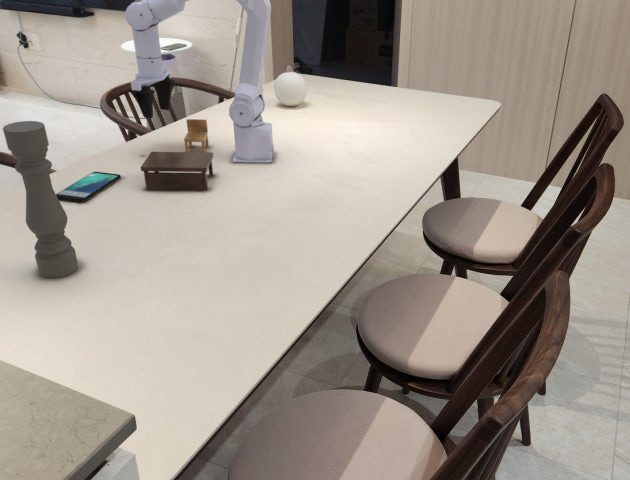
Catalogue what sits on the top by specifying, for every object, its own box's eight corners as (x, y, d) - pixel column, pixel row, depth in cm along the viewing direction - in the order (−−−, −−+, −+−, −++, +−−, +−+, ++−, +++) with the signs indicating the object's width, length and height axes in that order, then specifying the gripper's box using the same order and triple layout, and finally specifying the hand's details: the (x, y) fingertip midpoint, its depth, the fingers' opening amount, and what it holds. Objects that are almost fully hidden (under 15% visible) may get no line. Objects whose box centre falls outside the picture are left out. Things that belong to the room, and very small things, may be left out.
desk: (215, 174, 149) (213, 152, 146) (208, 191, 141) (206, 167, 138) (154, 174, 148) (151, 151, 145) (144, 190, 140) (140, 167, 137)
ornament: (279, 99, 207) (278, 61, 201) (310, 102, 206) (309, 64, 200) (271, 108, 199) (269, 68, 192) (303, 110, 198) (302, 71, 191)
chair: (209, 145, 166) (206, 119, 162) (205, 153, 161) (202, 126, 157) (189, 145, 166) (186, 119, 162) (185, 153, 160) (182, 126, 157)
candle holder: (46, 260, 111) (10, 120, 99) (83, 260, 112) (52, 120, 99) (33, 278, 106) (-7, 132, 93) (72, 278, 107) (37, 133, 94)
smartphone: (52, 195, 133) (94, 170, 146) (53, 199, 134) (94, 174, 146) (82, 199, 132) (122, 174, 145) (83, 203, 133) (122, 177, 145)
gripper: (150, 49, 157) (158, 104, 164) (115, 60, 145) (125, 119, 152) (176, 52, 156) (182, 107, 163) (143, 63, 144) (151, 122, 151)
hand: (156, 113), depth 157 cm, fingers open, 7 cm apart
